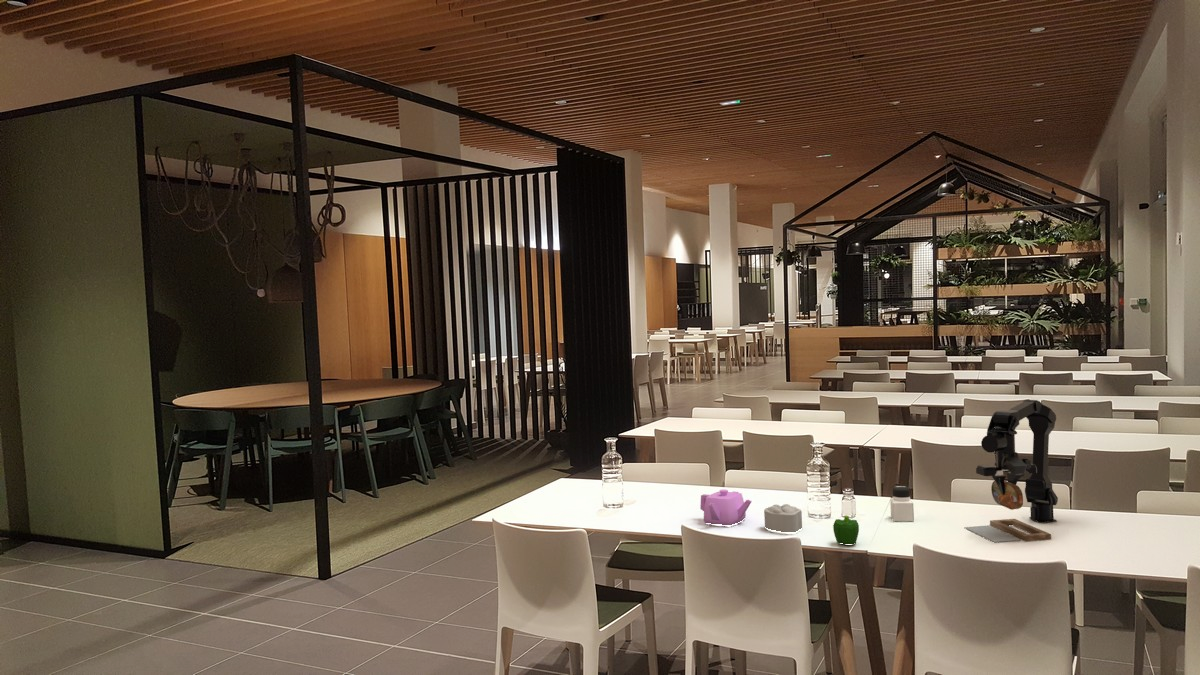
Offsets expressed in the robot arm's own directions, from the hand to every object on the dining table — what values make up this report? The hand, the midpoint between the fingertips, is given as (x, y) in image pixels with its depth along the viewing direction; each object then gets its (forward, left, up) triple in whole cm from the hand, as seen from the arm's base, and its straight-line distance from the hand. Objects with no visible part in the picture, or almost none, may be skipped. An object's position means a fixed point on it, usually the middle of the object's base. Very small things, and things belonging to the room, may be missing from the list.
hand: (1007, 494), depth 287 cm
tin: (-1, 0, -4) cm, 4 cm away
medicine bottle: (+25, -27, -14) cm, 39 cm away
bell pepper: (+56, -2, -14) cm, 58 cm away
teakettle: (+88, -41, -14) cm, 98 cm away
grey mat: (+6, 0, -13) cm, 15 cm away
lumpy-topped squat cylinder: (+71, -25, -14) cm, 76 cm away
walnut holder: (-4, 0, -13) cm, 14 cm away
